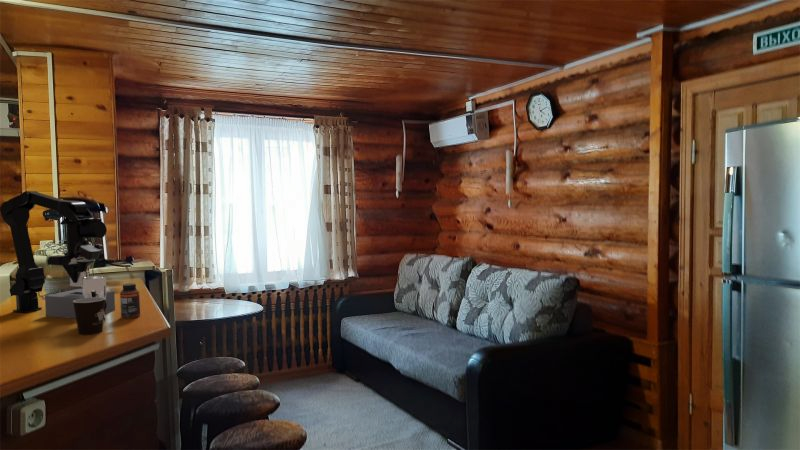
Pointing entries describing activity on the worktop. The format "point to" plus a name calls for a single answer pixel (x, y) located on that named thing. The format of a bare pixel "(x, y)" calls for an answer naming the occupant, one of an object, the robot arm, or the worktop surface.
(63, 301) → the coin box
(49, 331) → the worktop surface
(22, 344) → the worktop surface
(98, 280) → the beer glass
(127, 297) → the supplement bottle
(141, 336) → the worktop surface
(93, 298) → the coffee mug
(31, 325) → the worktop surface
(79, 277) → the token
